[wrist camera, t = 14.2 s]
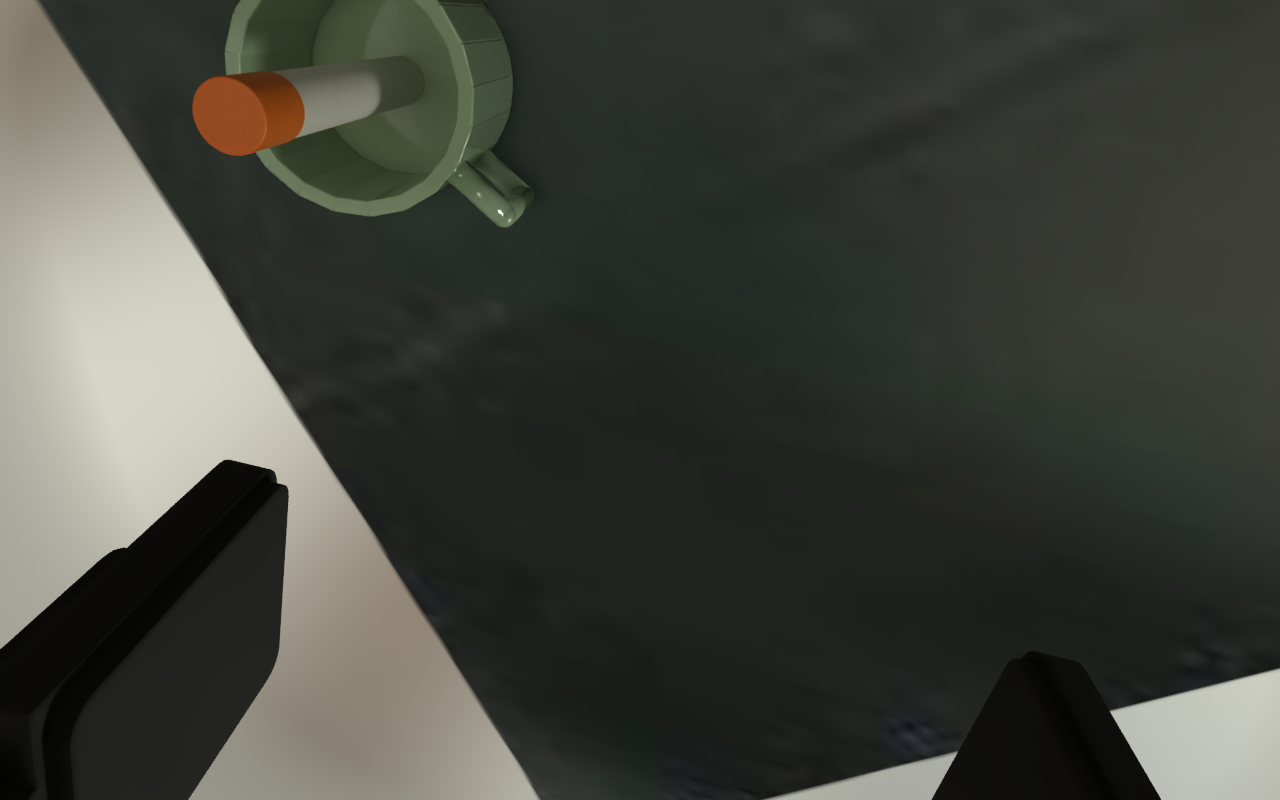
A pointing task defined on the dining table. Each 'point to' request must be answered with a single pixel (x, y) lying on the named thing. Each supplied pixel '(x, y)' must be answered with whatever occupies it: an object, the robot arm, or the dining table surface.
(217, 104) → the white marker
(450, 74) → the mug
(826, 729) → the dining table surface
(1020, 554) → the dining table surface
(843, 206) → the dining table surface
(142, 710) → the robot arm
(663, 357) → the dining table surface
